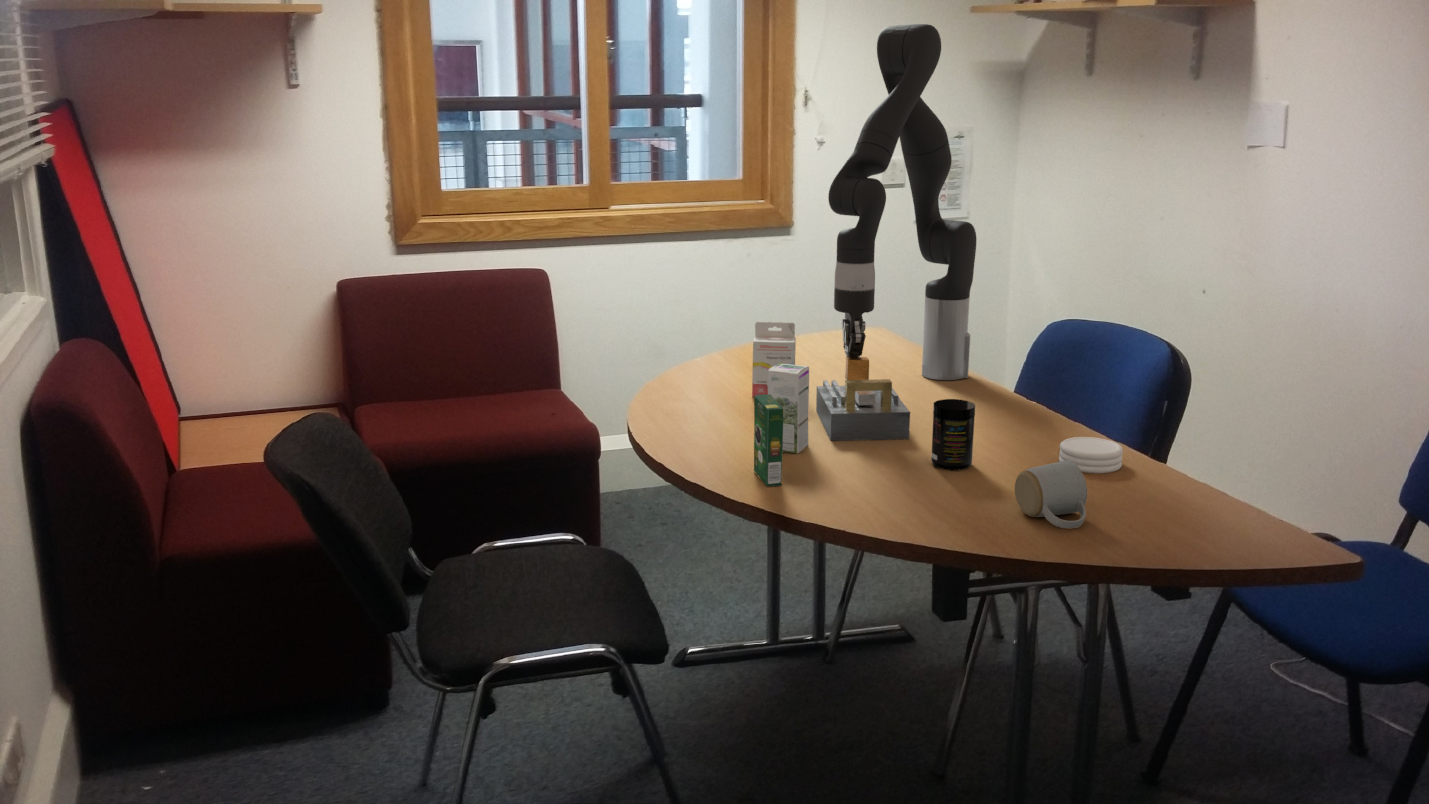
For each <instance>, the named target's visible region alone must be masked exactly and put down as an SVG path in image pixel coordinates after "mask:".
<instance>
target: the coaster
mask: <svg viewBox="0 0 1429 804" xmlns="http://www.w3.org/2000/svg"><path fill="white" fill-rule="evenodd" d="M1059 449H1060V450H1059V453H1058V454H1059V457H1058V462H1061V461H1066V460H1068V461H1072V462H1074V463H1075V464H1076V465H1077V466H1078V467H1079V468H1080V470H1081V472H1082V473H1088V474H1108V473H1114V472H1116V471H1118V470H1120V469H1121V467H1122V466H1123V464H1122V463H1123V462H1122V461H1123V457H1124V456H1123V453H1124V449H1123V447H1122V446H1121V445H1120V444H1119V443H1117V442H1116V441H1114V440H1109V439H1105V438H1101V437H1100V438H1099V437H1093V436H1076V437H1070V438H1066V439H1064V440H1062V441H1061V442H1060V444H1059Z"/></svg>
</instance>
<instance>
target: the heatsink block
mask: <svg viewBox="0 0 1429 804" xmlns="http://www.w3.org/2000/svg"><path fill="white" fill-rule="evenodd" d="M844 384H845V385H839V384H838V381H837V380H835V379H834V380H832V379H831V383H829V381H828V380H827V379H826V380H822V385H819V386H818V385H816V404H815V405H816V407H815V411H816V414H817V415H818V419H819V420H820V422H821V424H822V426H823V428H824V430H825V433H826V434H827V436H828V438H829V441H832V442H833V441H834V442H836V441H881V440H883V441H884V440H886V441H887V440H892V441H893V440H910V427H911V426H910V425H911V424H910V423H911V422H910V421H911V420H910V419H911V411H910V409H908V407H907V406H906V405H905V403H904V402H903V401H902V400H901V397H899V395H898V393H897V392H896V391H895V389H894V388H893V381H892V380H891V379H886V378H885V379H884V378H883V379H869V380H846V379H845V381H844ZM855 391H874V393H875V405H858V404H857V402H856V400H855Z"/></svg>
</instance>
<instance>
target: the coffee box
mask: <svg viewBox="0 0 1429 804" xmlns="http://www.w3.org/2000/svg"><path fill="white" fill-rule="evenodd" d="M753 399H754V400H753V401H754V404H753V405H754V407H753V408H754V412H753V413H754V414H753V415H754V416H753V417H754V418H753V419H754V421H753V422H754V426H753V427H754V429H753V430H754V433H753V435H754V436H753V471H754V473H755V474H756V475H757V476H758V478H759V479H760V480H761V481H762V483H763V485H765V486H766V487H767V488H768V487H769V488H770V487H781V486H782V481H783V453H784V452H783V414H784V408H783V407H782V406H781V405H780V404H779V403H778V402H777V401H776V400H775V399H774V398H773V397H772V396H771V395H755V396H754V397H753Z"/></svg>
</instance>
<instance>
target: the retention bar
mask: <svg viewBox="0 0 1429 804" xmlns="http://www.w3.org/2000/svg"><path fill="white" fill-rule="evenodd" d="M844 373H845V380H870V377H869V376H870V359H869V357H867V356H860V357H845V372H844ZM855 400H856V402H857V404H858V405H875V393H874V391H855Z"/></svg>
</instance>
